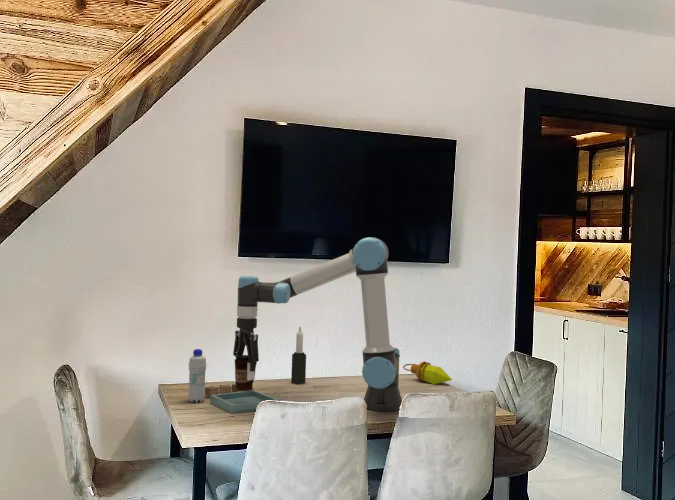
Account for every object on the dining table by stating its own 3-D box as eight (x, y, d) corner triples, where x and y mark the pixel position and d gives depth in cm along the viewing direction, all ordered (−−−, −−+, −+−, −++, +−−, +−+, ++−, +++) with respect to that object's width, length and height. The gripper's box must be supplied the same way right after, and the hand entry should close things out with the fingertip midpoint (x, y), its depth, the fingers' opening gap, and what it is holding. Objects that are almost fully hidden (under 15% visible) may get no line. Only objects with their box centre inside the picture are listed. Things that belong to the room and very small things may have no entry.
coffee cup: (251, 393, 248) (252, 358, 248) (229, 391, 250) (231, 357, 250) (258, 388, 257) (260, 354, 256) (238, 387, 258) (239, 353, 258)
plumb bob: (456, 385, 306) (408, 371, 320) (457, 366, 303) (408, 353, 317) (447, 392, 299) (398, 378, 313) (448, 374, 296) (399, 360, 310)
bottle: (196, 404, 253) (198, 351, 253) (183, 401, 256) (185, 349, 256) (209, 400, 258) (210, 348, 258) (196, 398, 262) (197, 347, 262)
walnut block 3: (245, 394, 272) (245, 384, 272) (237, 395, 269) (238, 385, 269) (239, 392, 275) (239, 382, 275) (231, 394, 272) (231, 384, 272)
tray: (279, 407, 251) (279, 399, 251) (233, 414, 240) (233, 405, 240) (254, 397, 267) (254, 390, 267) (210, 402, 255) (210, 395, 255)
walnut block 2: (231, 396, 267) (231, 386, 267) (221, 397, 266) (221, 387, 266) (229, 394, 271) (229, 384, 271) (219, 395, 270) (219, 385, 270)
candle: (306, 383, 297) (308, 326, 297) (298, 384, 293) (299, 327, 293) (298, 381, 301) (300, 325, 300) (290, 382, 297) (291, 326, 297)
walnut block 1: (218, 397, 266) (218, 387, 266) (211, 399, 262) (212, 388, 262) (210, 395, 268) (210, 385, 268) (203, 397, 264) (204, 387, 264)
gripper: (269, 320, 247) (267, 382, 247) (242, 314, 264) (240, 371, 264) (251, 320, 242) (249, 383, 242) (225, 314, 259) (223, 373, 260)
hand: (244, 377), depth 253 cm, fingers closed on coffee cup, 8 cm apart
